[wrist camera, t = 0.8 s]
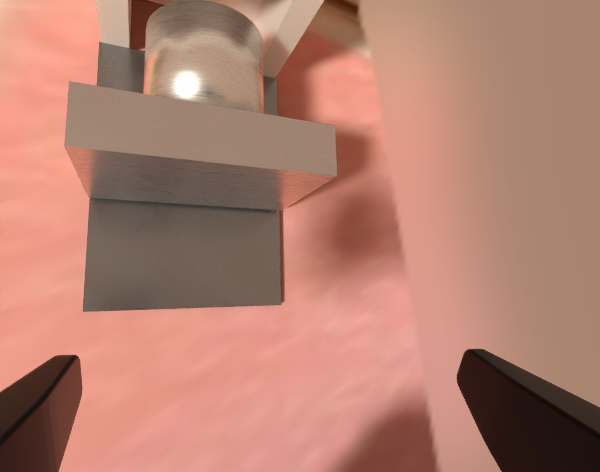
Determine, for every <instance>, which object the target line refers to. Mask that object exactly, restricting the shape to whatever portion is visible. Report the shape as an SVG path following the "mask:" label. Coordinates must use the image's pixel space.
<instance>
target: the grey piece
mask: <svg viewBox="0 0 600 472" xmlns="http://www.w3.org/2000/svg"><path fill="white" fill-rule="evenodd" d="M64 146H65V148H66V151H67V153H68V155H69V157H70V159H71V161H72V163H73V165H74V168H75V170H76V172H77V174H78V176H79V178H80V180H81V182H82V185H83V187H84V189H85V191H86V193H87V195H88V197H89V198H102V199H117V200H132V201H147V202H162V203H177V204H192V205H207V206H222V207H237V208H252V209H267V210H284V209H285V208H287V207H288V206H290V205H292V204H293V203H295V202H296V201H298V200H300V199H301V198H303V197H304V196H306V195H308V194H309V193H311V192H312V191H314V190H316V189H317V188H319V187H321V186H322V185H324V184H325V183H327V182H329V181H330V180H332V179H333V178H335V177H337V159H336V135H335V126H334V125H328V124H322V123H316V122H310V121H304V120H298V119H292V118H286V117H280V116H274V115H268V114H264V88H263V40H262V36H261V34H260V31H259V30H258V28H257V27H256V26H255V24H254V23H253V22H252V21H251V20H250V19H249V18H247V17H246V16H245V15H243V14H242V13H240V12H239V11H237V10H235V9H233V8H231V7H228V6H226V5H223V4H220V3H217V2H212V1H207V0H180V1H174V2H171V3H168V4H166V5H163V6H161V7H160V8H158V9H157V10H156V11H155V12H153V13H152V15H151V16H150V17H149V19H148V22H147V25H146V41H145V65H144V89H143V94H142V93H136V92H130V91H124V90H118V89H112V88H106V87H100V86H94V85H88V84H82V83H76V82H70V81H69V91H68V105H67V118H66V132H65V145H64Z"/></svg>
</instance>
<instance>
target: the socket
mask: <svg viewBox="0 0 600 472" xmlns="http://www.w3.org/2000/svg"><path fill="white" fill-rule="evenodd" d="M148 1H152V2H155V3H159V4H163V5H166V4H168V3H171V2H174V1H180V0H148ZM207 1H212V2H217V3H220V4H223V5H226V6H228V7H231V8H233V9H235V10H237V11H239V12H240V13H242V14H243V15H245V16H246V17H247V18H249V19H250V20H251V21H252V22H253V23H254V24H255V26H256V27H257V28H258V30H259V31H260V34H261V36H262V40H263V76H267V77H272V78H276V77H277V75H278V74H279V72H280V71H281V69H282V67H283V66H284V64H285V63H286V61H287V59H288V58H289V56H290V55H291V53H292V51H293V50H294V48H295V47H296V45H297V43H298V42H299V40H300V39H301V37H302V35H303V34H304V32H305V30H306V29H307V27H308V26H309V24H310V22H311V21H312V19H313V18H314V16H315V14H316V13H317V11H318V10H319V8H320V6H321V5H322V3H323V2H324V0H207ZM96 7H97V14H98V22H99V29H100V36H101V42H102V43H107V44H112V45H117V46H122V47H127V48H130V30H131V10H132V0H96Z"/></svg>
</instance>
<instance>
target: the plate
mask: <svg viewBox="0 0 600 472" xmlns="http://www.w3.org/2000/svg"><path fill="white" fill-rule="evenodd" d="M144 65H145V51H141V50H136V49H132V48H127V47H122V46H117V45H112V44H107V43H102V42H99V57H98V73H97V86H100V87H106V88H112V89H118V90H124V91H130V92H136V93H142V94H143V89H144ZM263 88H264V114H268V115H274V116H278V98H277V78H272V77H267V76H263ZM263 305H281V269H280V212H279V210H267V209H252V208H237V207H222V206H207V205H192V204H177V203H162V202H147V201H132V200H117V199H102V198H90V203H89V219H88V235H87V251H86V268H85V284H84V300H83V312H87V311H116V310H146V309H175V308H205V307H234V306H263Z"/></svg>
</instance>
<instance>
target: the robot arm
mask: <svg viewBox="0 0 600 472" xmlns="http://www.w3.org/2000/svg"><path fill="white" fill-rule="evenodd" d="M457 383H458V386H459V388H460V390H461V393H462V395H463V397H464V399H465V401H466V403H467V405H468V408H469V410H470V412H471V414H472V416H473V418H474V420H475V423H476V425H477V427H478V429H479V431H480V433H481V435H482V437H483V439H484V441H485V443H486V445H487V447H488V449H489V450H490V452H491V454H492V456H493V457H494V459H495V461H496V463H497V464H498V466H499V468H500V470H501V471H502V472H600V407H598V406H596V405H594V404H592V403H590V402H588V401H586V400H584V399H582V398H580V397H578V396H575V395H574V394H572V393H570V392H568V391H566V390H564V389H562V388H560V387H558V386H556V385H553V384H552V383H550V382H548V381H546V380H543V379H542V378H539V377H538V376H536V375H534V374H531V373H530V372H528V371H526V370H523V369H521V368H520V367H518V366H515V365H514V364H512V363H509V362H508V361H506V360H503V359H502V358H500V357H498V356H495V355H494V354H492V353H490V352H488V351H485V350H483V349H468V350H466V351H465V353H464V355H463V358H462V361H461V364H460V367H459V370H458V373H457ZM81 396H82V377H81V366H80V359H79V357H78V356H76V355H57V356H54V357H53V358H51V359H50V360H48V361H47V362H45V363H43V364H42V365H40V366H39V367H37V368H36V369H34V370H33V371H31V372H30V373H28V374H27V375H25V376H24V377H22V378H21V379H19V380H18V381H16V382H15V383H13V384H12V385H10V386H9V387H7V388H6V389H4V390H3V391H1V392H0V472H58V471H59V468H60V465H61V462H62V459H63V456H64V452H65V449H66V446H67V443H68V439H69V436H70V433H71V430H72V426H73V423H74V420H75V416H76V413H77V410H78V407H79V403H80V400H81Z"/></svg>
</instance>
